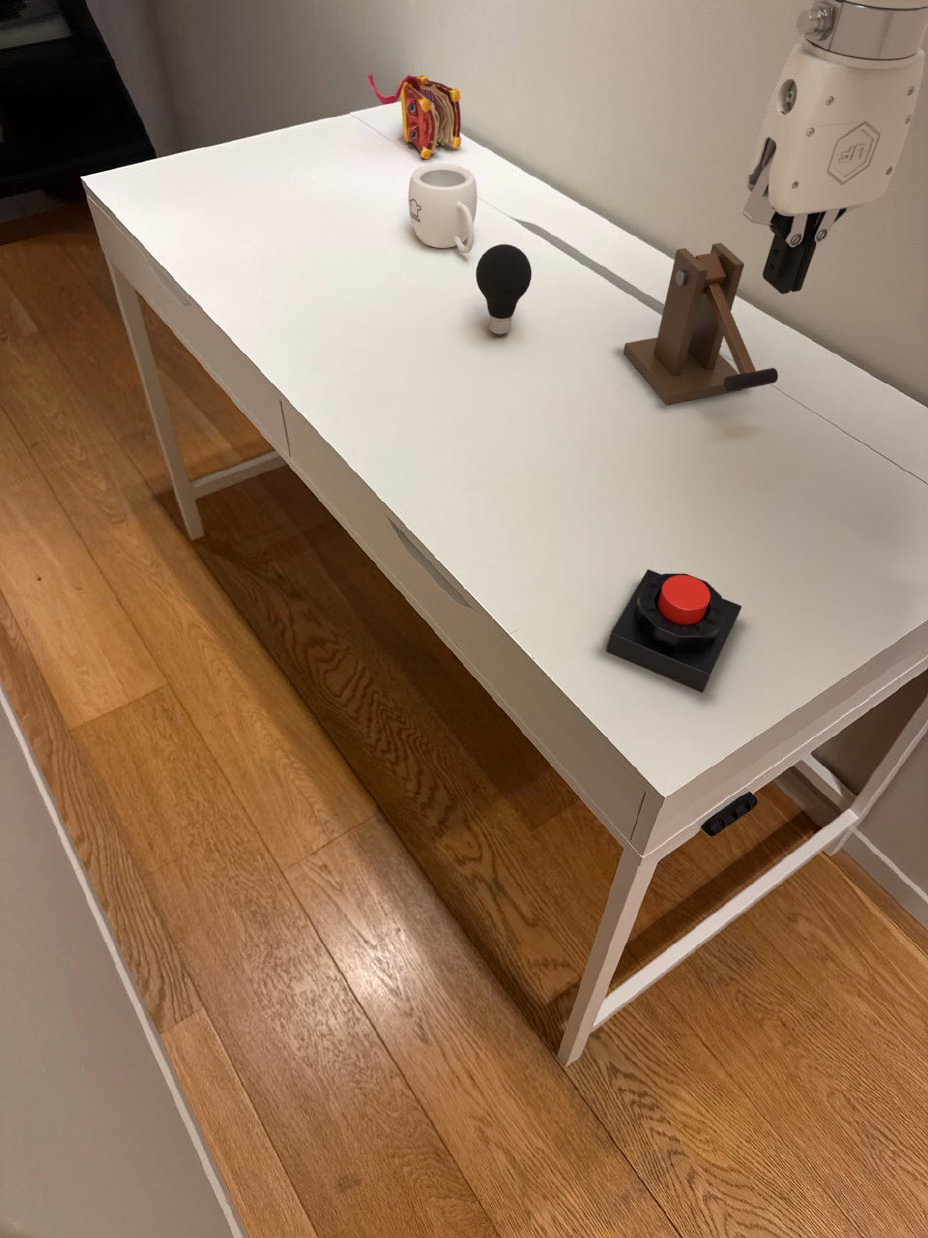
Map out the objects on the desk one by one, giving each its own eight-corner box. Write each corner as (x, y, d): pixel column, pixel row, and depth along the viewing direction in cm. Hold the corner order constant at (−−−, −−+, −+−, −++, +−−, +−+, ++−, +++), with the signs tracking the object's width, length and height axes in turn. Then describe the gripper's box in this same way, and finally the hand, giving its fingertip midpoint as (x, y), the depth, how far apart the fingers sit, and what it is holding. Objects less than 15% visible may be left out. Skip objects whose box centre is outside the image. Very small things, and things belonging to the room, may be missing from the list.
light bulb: (464, 326, 99) (467, 239, 92) (510, 315, 101) (517, 229, 93) (487, 353, 96) (492, 265, 88) (534, 342, 98) (544, 255, 90)
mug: (397, 230, 114) (396, 167, 108) (455, 218, 116) (457, 155, 110) (440, 273, 107) (441, 207, 101) (501, 258, 110) (505, 194, 104)
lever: (770, 388, 85) (782, 374, 83) (725, 397, 84) (736, 384, 82) (717, 266, 89) (728, 250, 86) (673, 273, 87) (683, 257, 85)
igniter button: (711, 601, 68) (716, 585, 67) (695, 632, 66) (701, 616, 65) (667, 583, 69) (672, 568, 68) (650, 613, 67) (655, 598, 66)
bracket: (742, 389, 93) (778, 274, 83) (666, 404, 91) (695, 288, 81) (695, 339, 99) (724, 226, 89) (623, 352, 97) (645, 238, 87)
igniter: (734, 623, 72) (748, 590, 69) (703, 693, 67) (716, 660, 64) (642, 586, 74) (652, 553, 71) (605, 651, 69) (613, 618, 66)
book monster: (465, 151, 130) (391, 169, 127) (438, 130, 135) (366, 147, 132) (463, 70, 122) (384, 87, 118) (434, 51, 127) (358, 67, 124)
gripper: (805, 54, 54) (727, 323, 68) (994, 33, 58) (883, 292, 72) (738, 16, 59) (678, 276, 73) (918, -1, 63) (827, 249, 77)
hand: (780, 283), depth 72 cm, fingers closed
